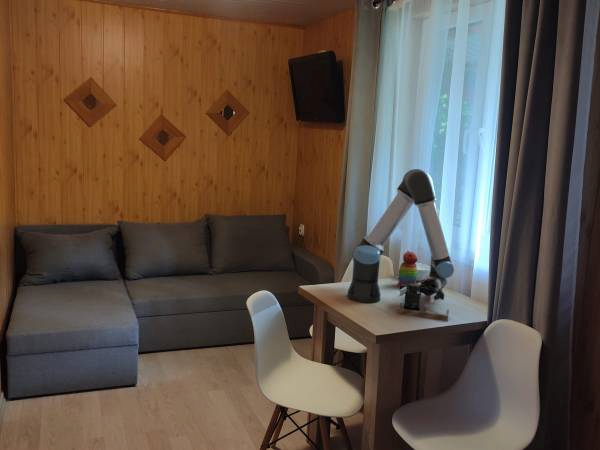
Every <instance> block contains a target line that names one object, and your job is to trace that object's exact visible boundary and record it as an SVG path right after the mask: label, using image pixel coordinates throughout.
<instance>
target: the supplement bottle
mask: <svg viewBox="0 0 600 450" xmlns="http://www.w3.org/2000/svg"><path fill="white" fill-rule="evenodd" d="M420 285H421V284H418V283H416V284H413V283H411V284H409V285H408V290H406V292H405V294H404V299H403V300H404V301H403V307H402V309H409V310H416V311H421V310H420V308H421V301H422V293H421V292H420V291H419V290H420Z"/></svg>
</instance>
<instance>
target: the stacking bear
mask: <svg viewBox="0 0 600 450" xmlns="http://www.w3.org/2000/svg"><path fill="white" fill-rule="evenodd" d="M402 258H403V262H402V263H401V264H400V266H399V269H398V276H397V277H398V282H397V286H398V287H399V288H400V285H407V284H411V283H415V284H417V282H416V279H417V267H416V264H415V263H418V260H419V257H417V255H416V253H415V252H413V251H410V250H407V251H406V252H404V254H403V255H402Z"/></svg>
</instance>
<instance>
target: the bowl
mask: <svg viewBox="0 0 600 450" xmlns="http://www.w3.org/2000/svg"><path fill="white" fill-rule="evenodd" d="M415 264H416V267H417V279H416V281H417V282H423V281H424V280H426V279H427V277H428V276H429V275H430V266H431V265H429V264H424V263H419V262H416V263H415ZM422 280H423V281H422Z"/></svg>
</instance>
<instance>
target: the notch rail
mask: <svg viewBox="0 0 600 450" xmlns="http://www.w3.org/2000/svg"><path fill="white" fill-rule="evenodd" d="M396 313H397V315H398V314H399V315H405V316H413V317H419V318H427V319H435V320H439V321H440V320H442V321H449V314H450V309H446V311H445V312H438V311H431V310H426V306H424V305H423V306H422V308H421V310H419V311H416V310H409V309H403V303H402V302H400V303H398V307H397V312H396Z"/></svg>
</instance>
